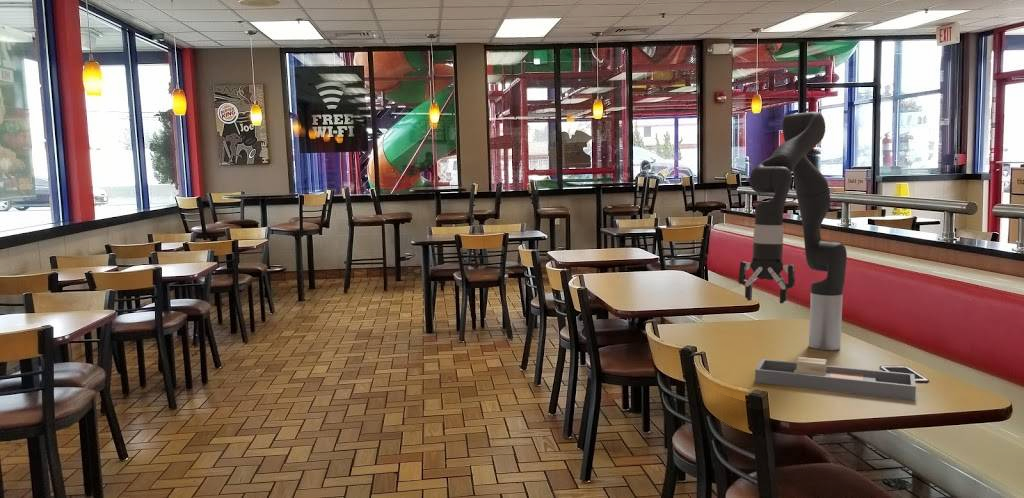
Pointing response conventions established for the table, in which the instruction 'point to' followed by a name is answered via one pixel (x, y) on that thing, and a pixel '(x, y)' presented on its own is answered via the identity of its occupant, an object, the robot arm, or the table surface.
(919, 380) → the cell phone
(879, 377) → the channel
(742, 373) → the table surface
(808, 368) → the birch block
